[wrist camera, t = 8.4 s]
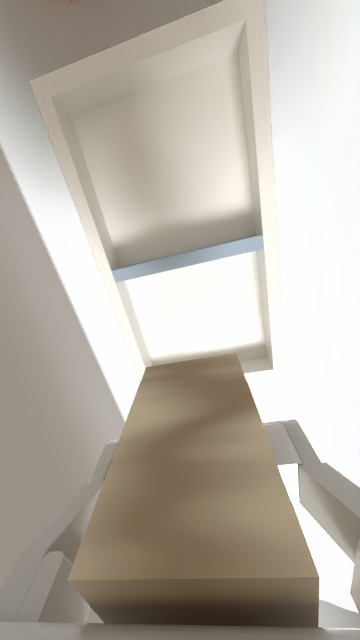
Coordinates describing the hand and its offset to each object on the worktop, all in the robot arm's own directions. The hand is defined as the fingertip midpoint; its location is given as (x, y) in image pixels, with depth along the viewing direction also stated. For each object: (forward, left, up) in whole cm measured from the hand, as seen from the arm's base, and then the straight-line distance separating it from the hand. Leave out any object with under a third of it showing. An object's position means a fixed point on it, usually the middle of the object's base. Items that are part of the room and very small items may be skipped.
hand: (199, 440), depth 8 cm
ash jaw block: (0, 0, -3) cm, 3 cm away
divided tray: (-5, -3, -14) cm, 15 cm away
